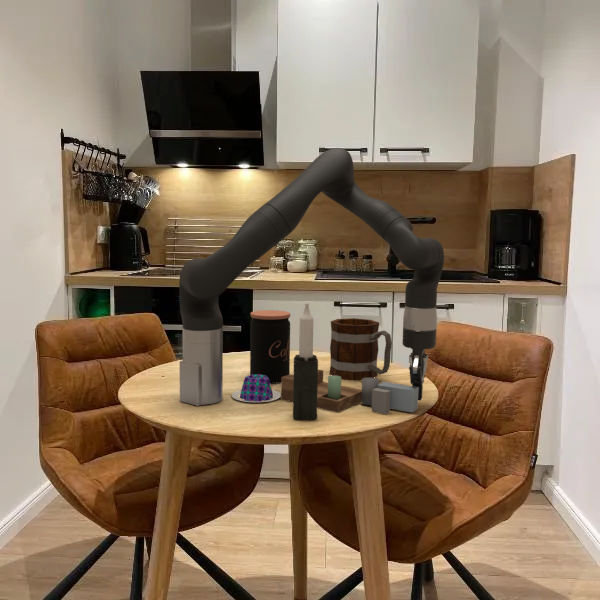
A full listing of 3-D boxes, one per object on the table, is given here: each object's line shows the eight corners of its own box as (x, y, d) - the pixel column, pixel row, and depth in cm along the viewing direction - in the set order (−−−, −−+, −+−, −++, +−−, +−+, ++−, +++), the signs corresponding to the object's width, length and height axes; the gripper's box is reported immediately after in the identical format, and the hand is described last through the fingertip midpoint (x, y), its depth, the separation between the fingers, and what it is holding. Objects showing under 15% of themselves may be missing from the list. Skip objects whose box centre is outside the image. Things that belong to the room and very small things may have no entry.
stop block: (385, 414, 132) (386, 392, 131) (371, 411, 134) (372, 389, 133) (389, 412, 133) (390, 390, 132) (375, 409, 135) (376, 387, 135)
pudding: (286, 393, 148) (286, 372, 147) (274, 407, 136) (274, 384, 136) (240, 389, 151) (240, 369, 150) (224, 403, 139) (224, 381, 138)
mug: (319, 373, 167) (320, 321, 165) (352, 366, 176) (353, 316, 174) (371, 388, 152) (373, 331, 151) (405, 380, 161) (407, 325, 160)
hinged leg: (358, 403, 138) (359, 380, 137) (365, 399, 142) (366, 376, 141) (412, 412, 132) (413, 388, 131) (418, 408, 135) (419, 384, 135)
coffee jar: (270, 386, 153) (271, 317, 151) (241, 379, 160) (241, 312, 157) (297, 378, 161) (298, 313, 159) (268, 372, 168) (269, 308, 165)
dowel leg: (336, 409, 134) (336, 379, 134) (324, 407, 136) (325, 377, 135) (342, 406, 137) (343, 376, 136) (331, 404, 139) (332, 374, 138)
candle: (315, 413, 132) (318, 301, 129) (317, 420, 127) (319, 304, 124) (292, 412, 132) (294, 300, 128) (293, 420, 126) (295, 304, 123)
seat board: (337, 412, 132) (338, 388, 132) (281, 399, 142) (281, 377, 141) (364, 400, 142) (365, 378, 141) (310, 388, 151) (310, 367, 151)
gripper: (407, 320, 143) (404, 390, 145) (398, 330, 130) (396, 406, 133) (439, 322, 140) (436, 393, 143) (433, 332, 128) (430, 410, 131)
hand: (416, 399), depth 138 cm, fingers closed
